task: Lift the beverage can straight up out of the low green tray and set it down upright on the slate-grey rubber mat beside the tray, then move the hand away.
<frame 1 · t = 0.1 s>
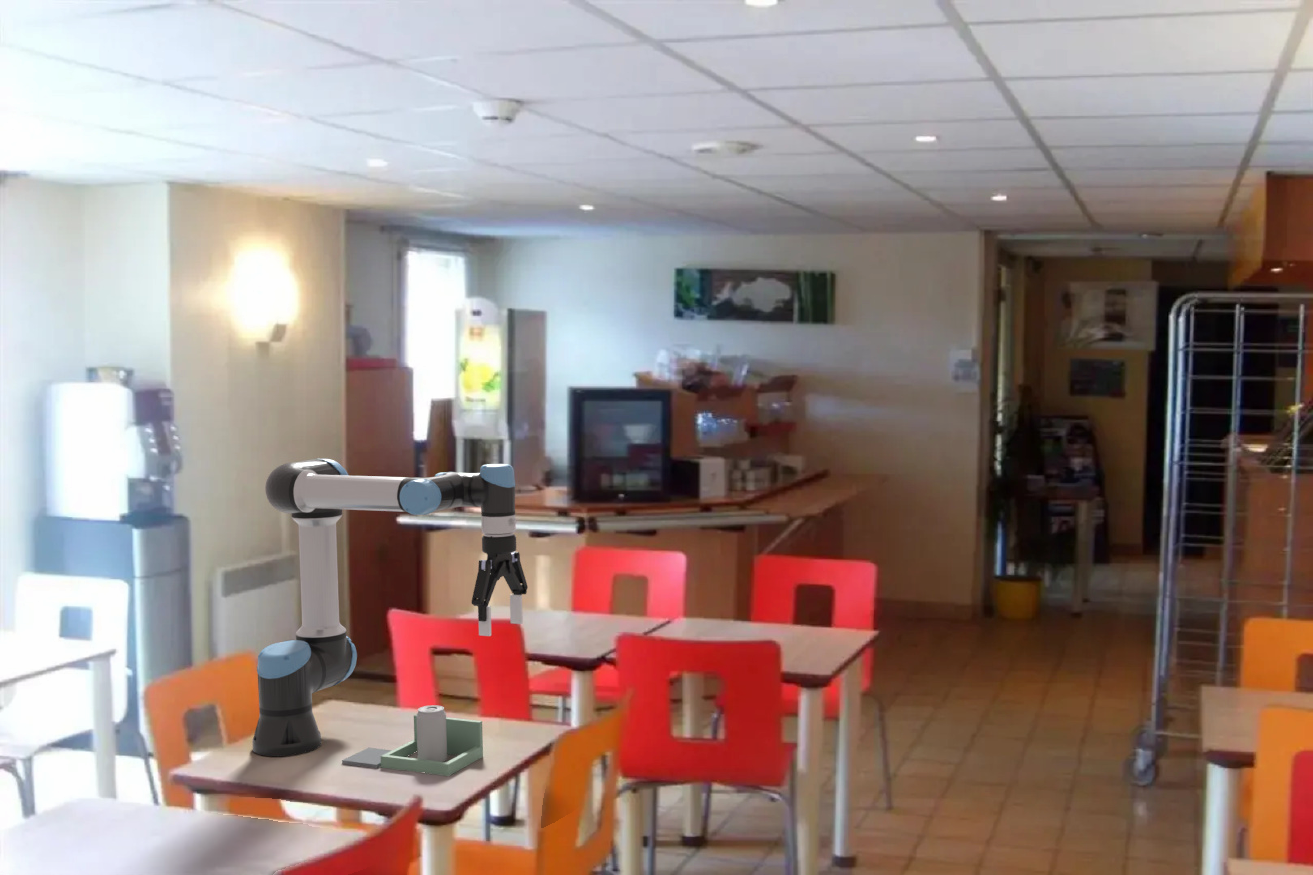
hand: (501, 629, 299), 28 cm above the table, tool pointing down, fingers open, 13 cm apart
beverage can: (432, 763, 295), on the table
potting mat: (372, 759, 298), on the table
green tray: (432, 762, 295), on the table
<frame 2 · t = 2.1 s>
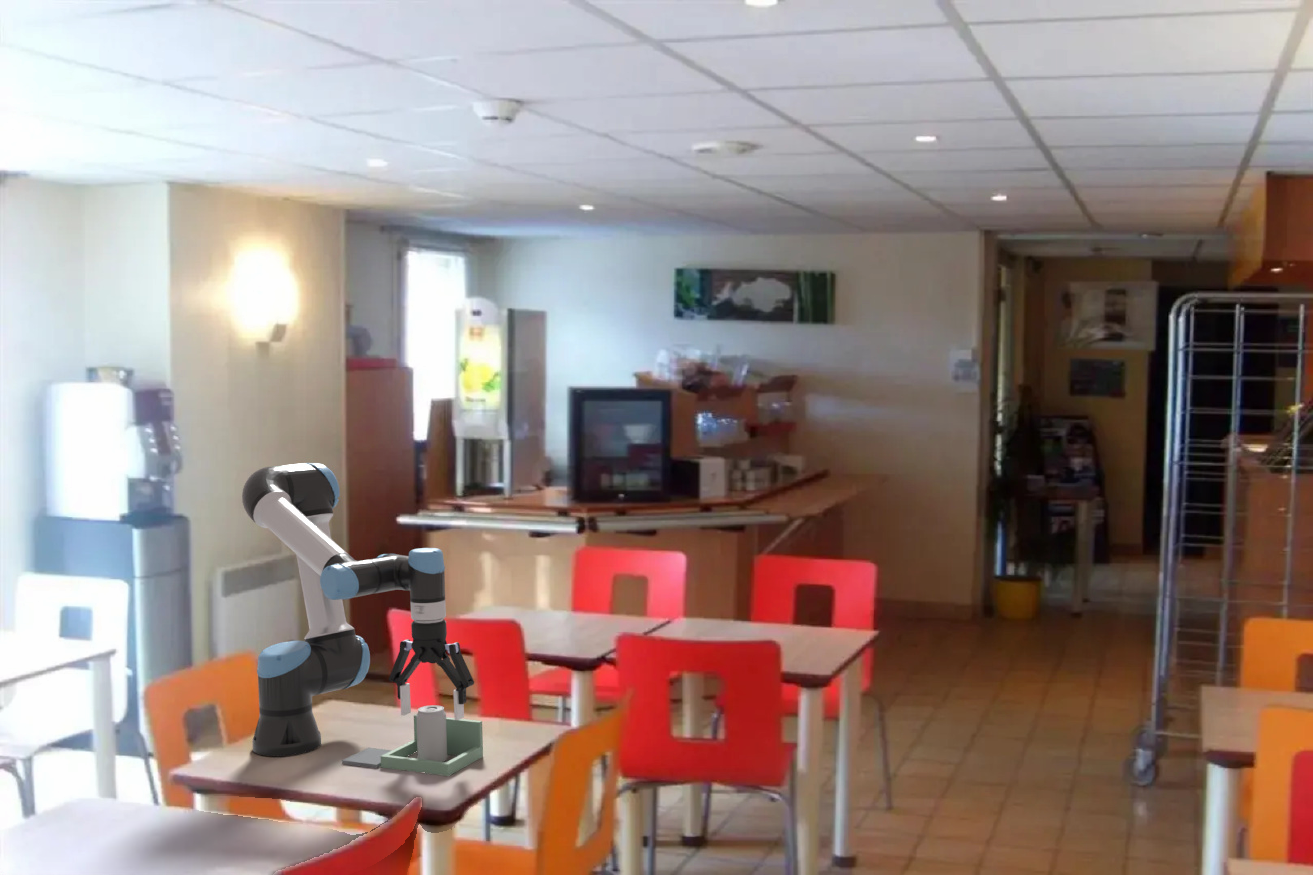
hand: (432, 716, 294), 10 cm above the table, tool pointing down, fingers open, 13 cm apart
nothing on the table moved.
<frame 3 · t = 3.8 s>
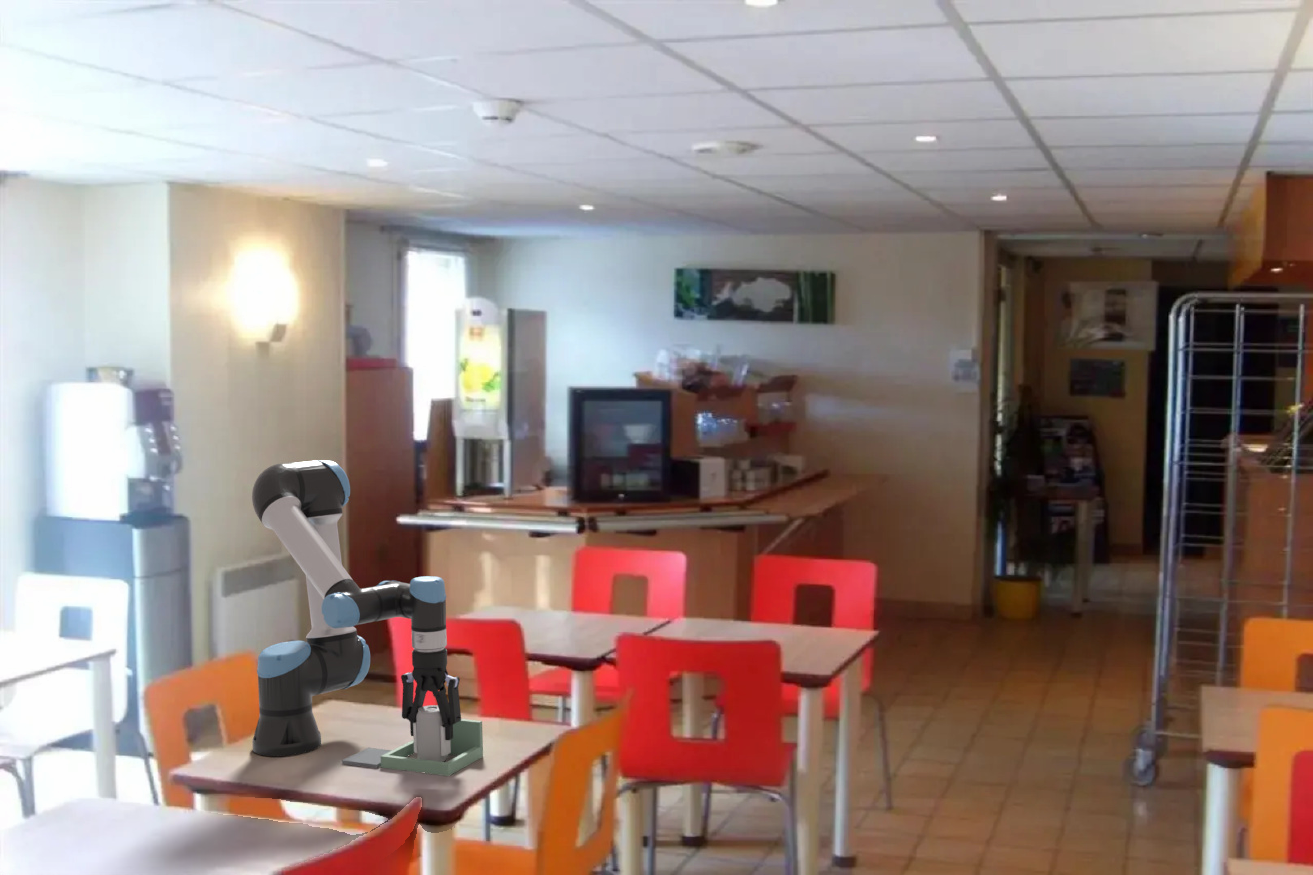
hand: (432, 752, 295), 2 cm above the table, tool pointing down, fingers closed on beverage can, 6 cm apart
beverage can: (432, 763, 295), on the table, touching gripper
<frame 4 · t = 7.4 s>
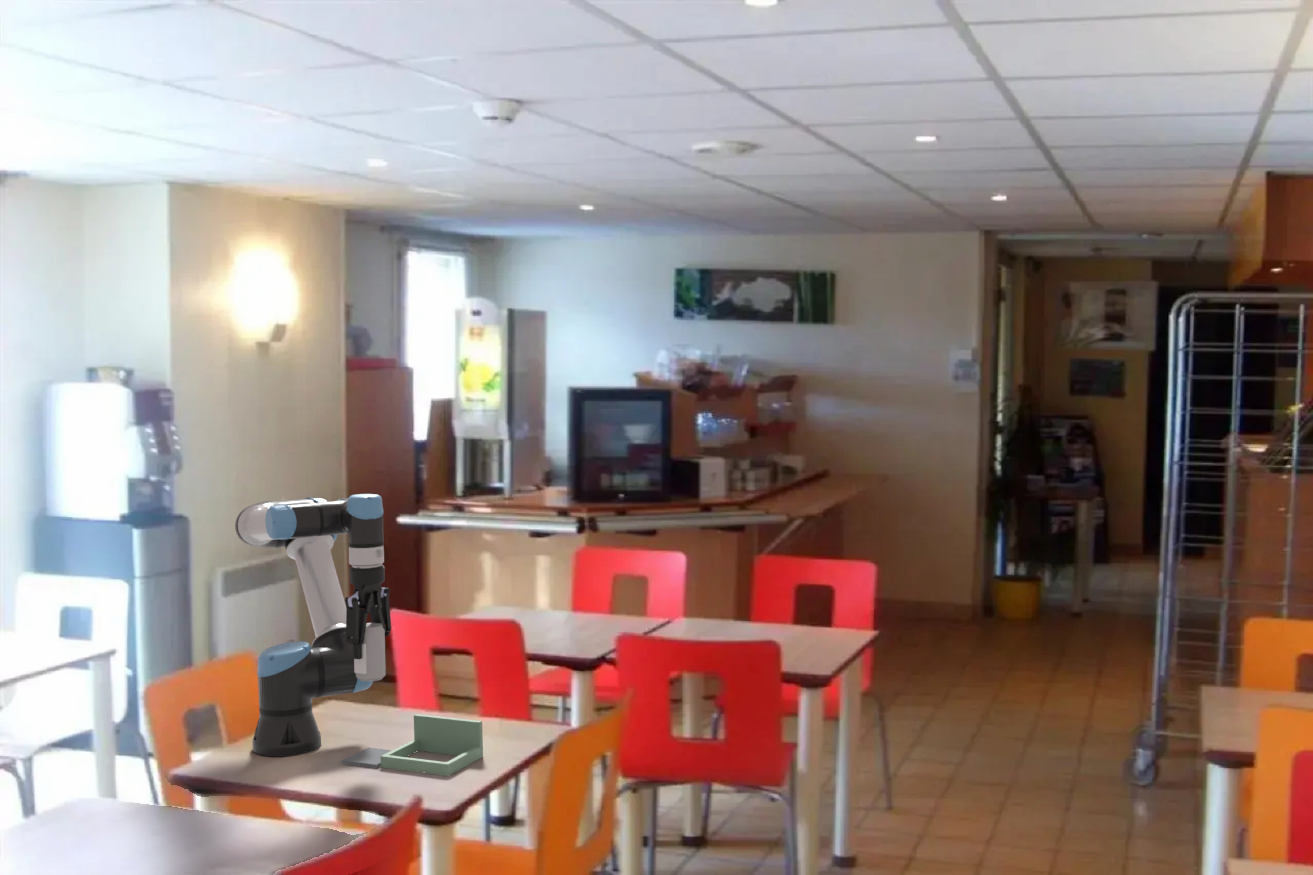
hand: (370, 669, 296), 20 cm above the table, tool pointing down, fingers closed on beverage can, 6 cm apart
beverage can: (371, 679, 296), point 18 cm above the table, touching gripper
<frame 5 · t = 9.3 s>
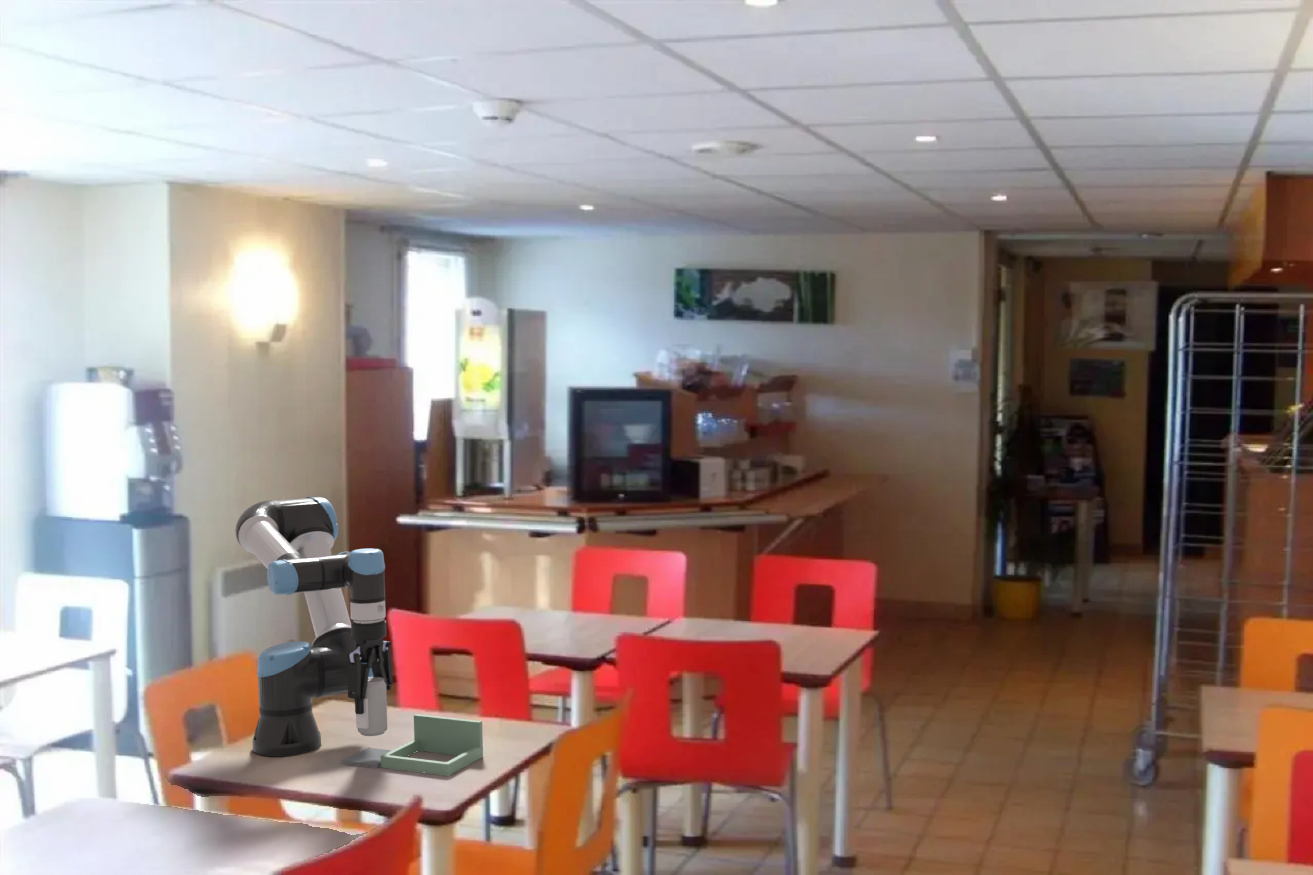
hand: (371, 723, 297), 8 cm above the table, tool pointing down, fingers closed on beverage can, 6 cm apart
beverage can: (372, 734, 297), point 6 cm above the table, touching gripper
when the fingers open (5 cm above the table, at t = 10.9 s): beverage can drops 2 cm, resting on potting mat.
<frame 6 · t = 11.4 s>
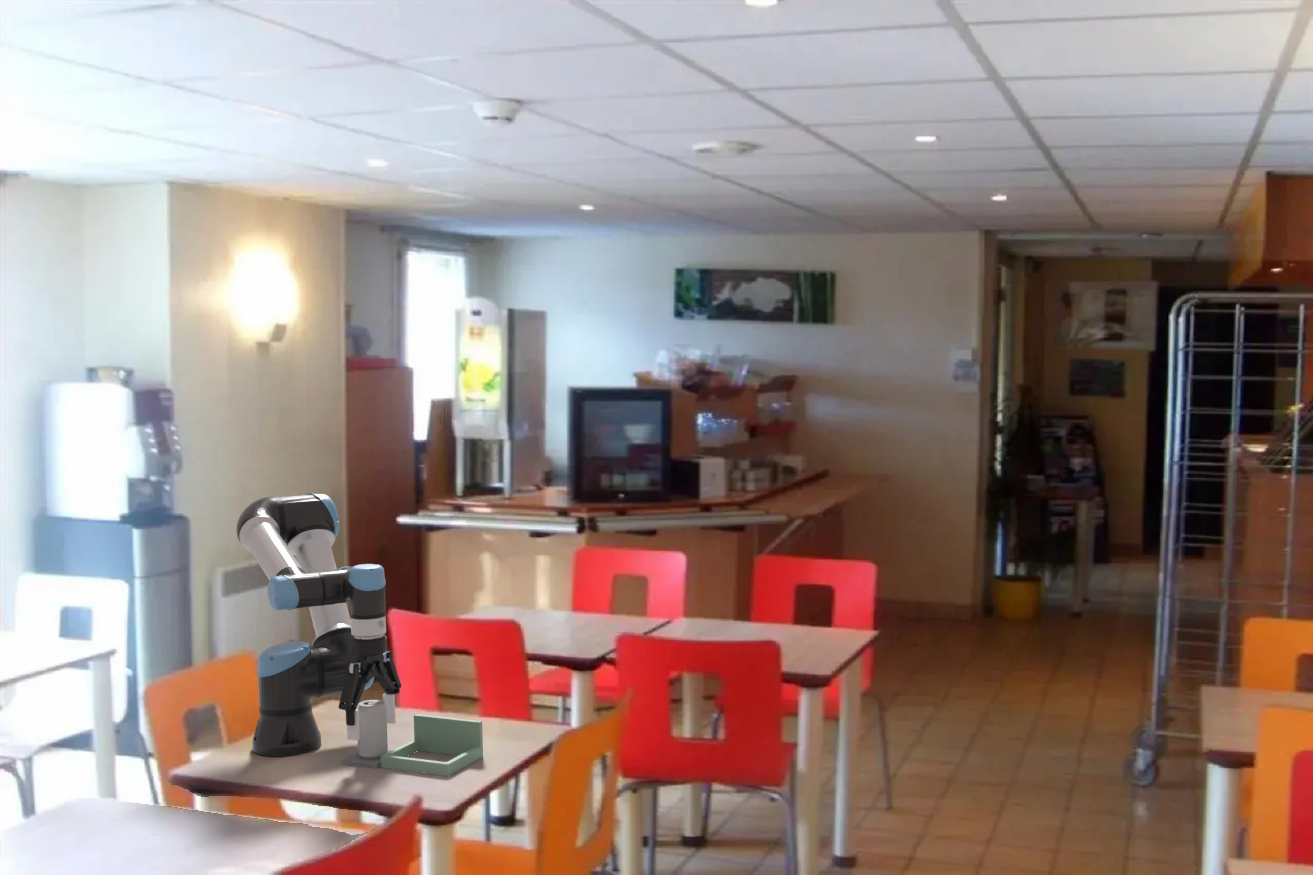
hand: (371, 731, 297), 6 cm above the table, tool pointing down, fingers open, 13 cm apart
beverage can: (373, 756, 298), point 1 cm above the table, touching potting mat
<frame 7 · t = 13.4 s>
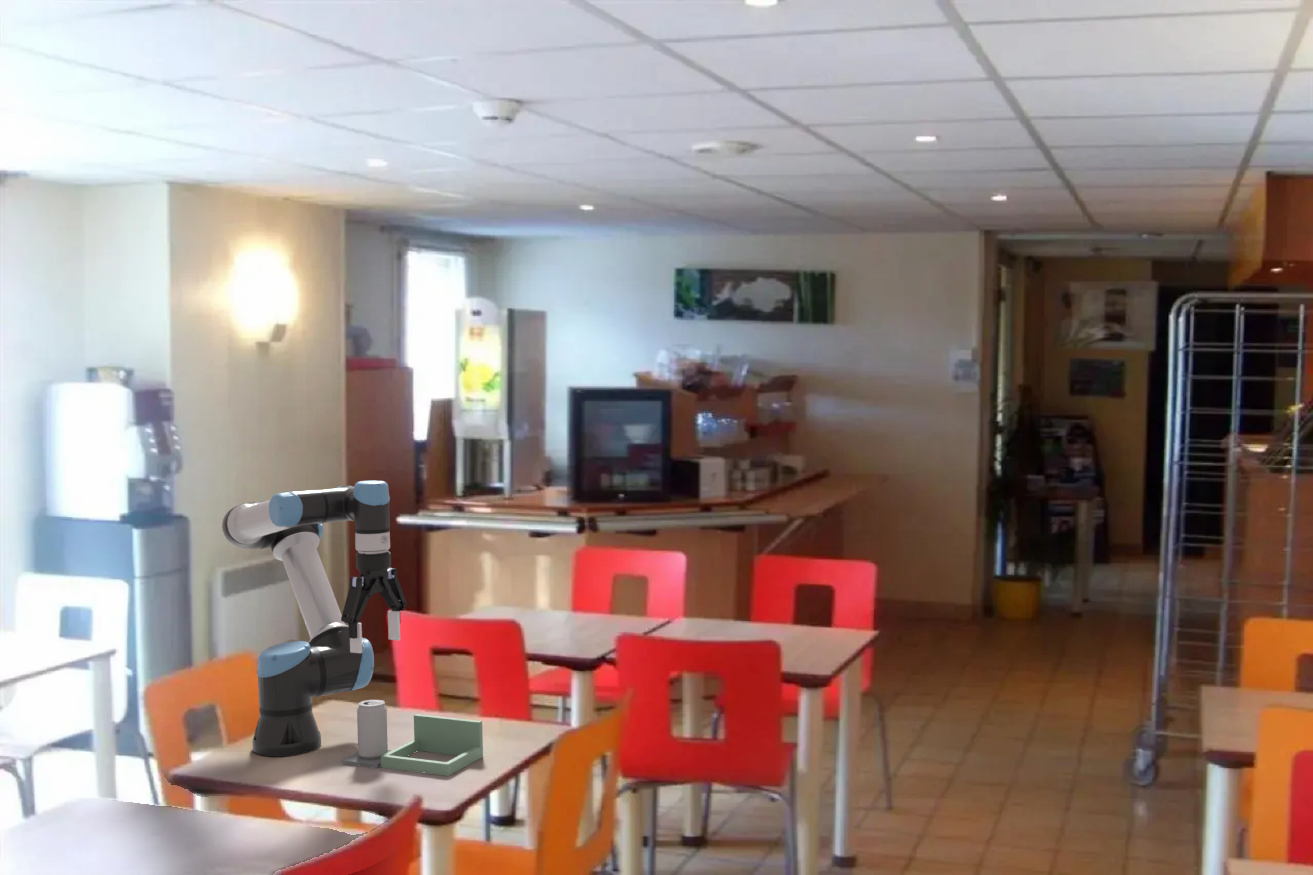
hand: (375, 646, 299), 25 cm above the table, tool pointing down, fingers open, 13 cm apart
nothing on the table moved.
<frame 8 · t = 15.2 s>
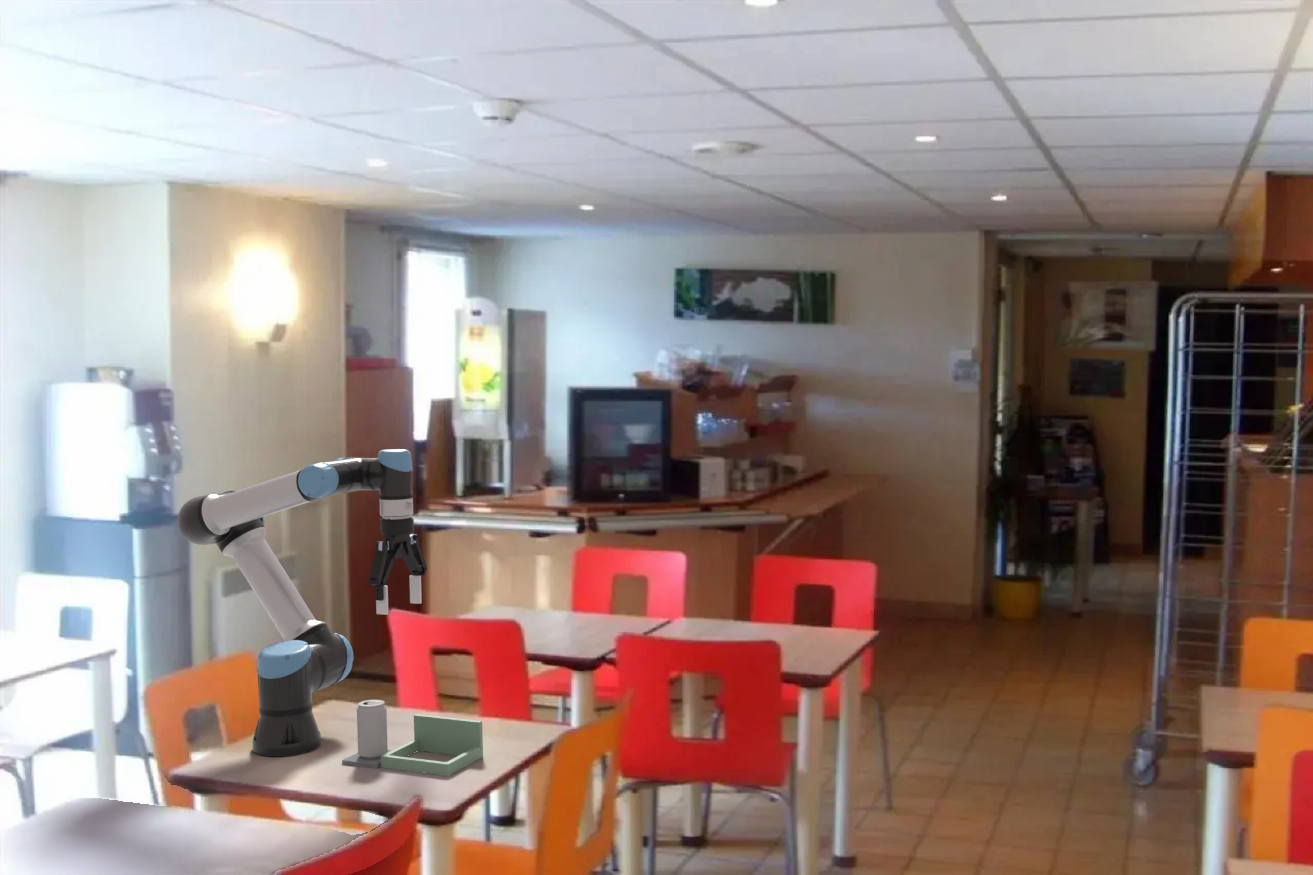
hand: (399, 608, 310), 31 cm above the table, tool pointing down, fingers open, 13 cm apart
nothing on the table moved.
at the end: beverage can inside the target area on the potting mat (0.1 cm from its centre), point 0.6 cm above the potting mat's base; beverage can tilted 0°; the gripper is holding nothing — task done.
